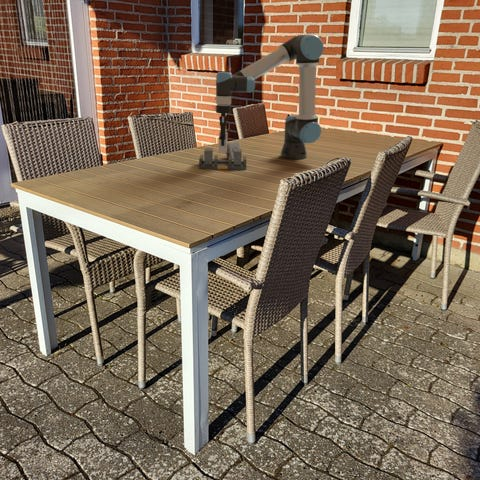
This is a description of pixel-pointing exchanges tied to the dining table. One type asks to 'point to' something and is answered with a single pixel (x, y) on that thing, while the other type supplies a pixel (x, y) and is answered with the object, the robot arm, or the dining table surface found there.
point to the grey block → (225, 142)
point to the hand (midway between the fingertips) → (222, 150)
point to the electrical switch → (232, 149)
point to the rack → (208, 162)
